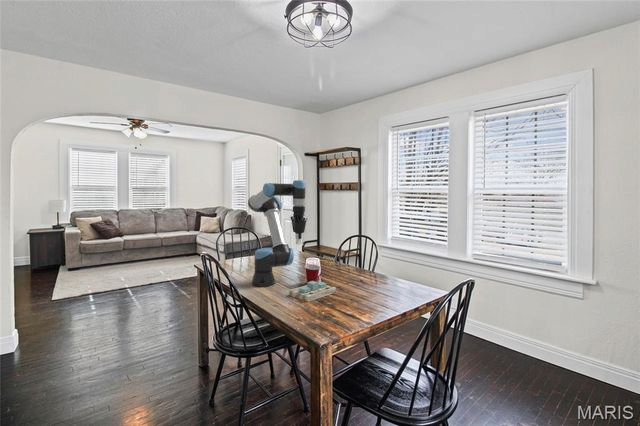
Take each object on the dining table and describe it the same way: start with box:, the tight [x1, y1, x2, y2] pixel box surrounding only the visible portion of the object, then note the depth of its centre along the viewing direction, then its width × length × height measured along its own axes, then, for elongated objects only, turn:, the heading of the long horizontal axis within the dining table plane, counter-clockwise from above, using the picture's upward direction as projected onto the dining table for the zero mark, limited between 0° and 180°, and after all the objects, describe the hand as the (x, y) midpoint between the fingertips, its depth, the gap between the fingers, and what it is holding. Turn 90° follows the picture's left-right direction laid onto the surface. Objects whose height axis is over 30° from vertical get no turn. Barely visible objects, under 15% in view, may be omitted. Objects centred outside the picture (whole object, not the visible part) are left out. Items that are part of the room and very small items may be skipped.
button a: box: [298, 286, 310, 294], centre depth 187 cm, size 5×5×4 cm
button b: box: [306, 281, 320, 291], centre depth 192 cm, size 5×5×4 cm
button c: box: [318, 281, 327, 288], centre depth 197 cm, size 5×5×4 cm
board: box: [288, 284, 337, 303], centre depth 192 cm, size 16×24×3 cm, turn 137°
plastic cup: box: [304, 264, 322, 283], centre depth 213 cm, size 11×11×12 cm
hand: (298, 243), depth 197 cm, fingers closed
